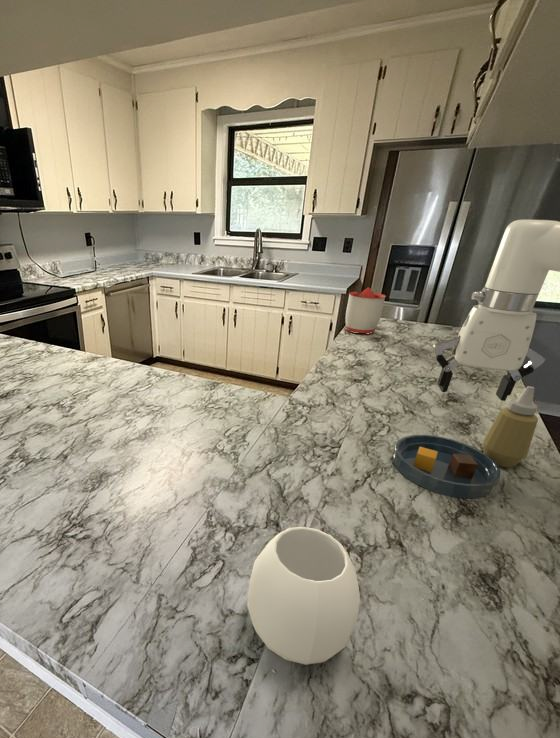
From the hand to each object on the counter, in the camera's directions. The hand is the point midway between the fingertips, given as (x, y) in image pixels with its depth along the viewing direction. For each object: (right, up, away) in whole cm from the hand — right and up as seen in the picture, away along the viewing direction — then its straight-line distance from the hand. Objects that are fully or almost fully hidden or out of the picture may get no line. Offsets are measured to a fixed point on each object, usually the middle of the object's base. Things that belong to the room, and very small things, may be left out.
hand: (470, 393), depth 75 cm
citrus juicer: (+24, +36, +112) cm, 119 cm away
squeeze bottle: (+16, -15, +14) cm, 26 cm away
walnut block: (+4, -16, +9) cm, 19 cm away
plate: (0, -16, +10) cm, 19 cm away
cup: (-39, -32, -23) cm, 55 cm away
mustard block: (-3, -15, +11) cm, 19 cm away
